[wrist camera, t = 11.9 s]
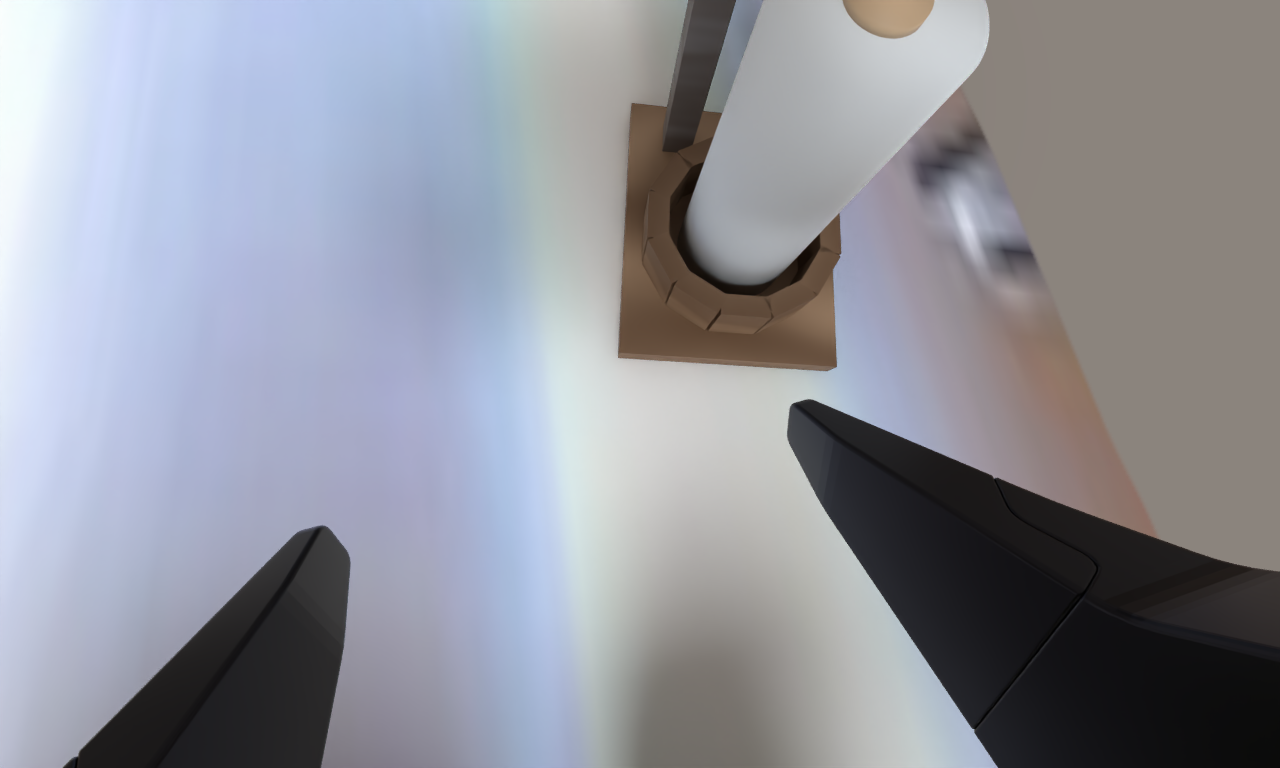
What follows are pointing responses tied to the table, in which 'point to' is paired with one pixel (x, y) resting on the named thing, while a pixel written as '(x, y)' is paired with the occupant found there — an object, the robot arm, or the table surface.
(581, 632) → the table surface
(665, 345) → the stand
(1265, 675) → the robot arm
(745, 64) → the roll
